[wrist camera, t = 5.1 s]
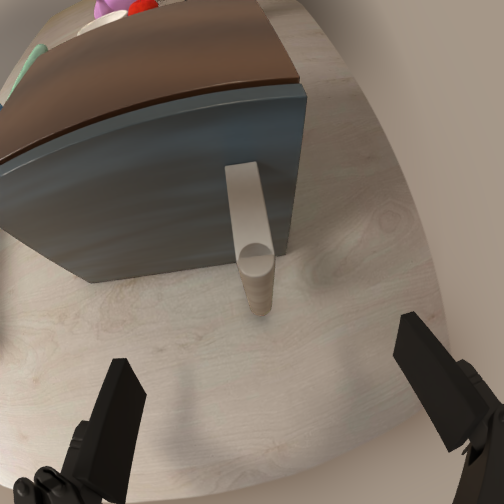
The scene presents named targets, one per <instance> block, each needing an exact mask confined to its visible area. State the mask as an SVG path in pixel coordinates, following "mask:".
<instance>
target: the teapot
mask: <svg viewBox="0 0 504 504" xmlns="http://www.w3.org/2000/svg"><path fill="white" fill-rule="evenodd" d="M135 1H137V0H97V2H96V5H95V9H94V16H95V20H96V19H98V18H100V17H102V16H104V15H106V14H109V13H112V12H115V11H119V10H127V11H128V10H129V7H130V5H131V4H132V3H134V2H135ZM127 16H128V13H127Z"/></svg>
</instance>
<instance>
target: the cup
mask: <svg viewBox="0 0 504 504" xmlns="http://www.w3.org/2000/svg"><path fill="white" fill-rule="evenodd" d="M127 13H128V11H127V10H119V11H115V12H112V13H109V14H106V15H104V16H102V17H100V18H98V19H96V20H94V21H92V22H91V23H89V24H87V25H86V26H85V27H83V28H82V29H81V30H80V31H79V32H78V34H77V36H79V35H81V34H83V33H85V32H88V31H90V30H92V29H95V28H97V27H100V26H102V25H105V24H107V23H110V22H113V21H115V20H118V19H121V18H124V17H127Z"/></svg>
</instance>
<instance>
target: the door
mask: <svg viewBox="0 0 504 504" xmlns="http://www.w3.org/2000/svg"><path fill="white" fill-rule="evenodd" d="M306 103H307V95H306V92H305V90H304V88H303V86H302V84H300V83H299V84H283V85H270V86H260V87H250V88H242V89H235V90H228V91H221V92H215V93H209V94H203V95H198V96H193V97H188V98H183V99H178V100H174V101H170V102H165V103H161V104H157V105H153V106H149V107H146V108H142V109H138V110H135V111H131V112H128V113H125V114H121V115H118V116H115V117H112V118H109V119H106V120H103V121H100V122H97V123H94V124H91V125H88V126H86V127H83V128H80V129H78V130H75V131H73V132H70V133H68V134H65V135H63V136H60V137H58V138H56V139H53V140H51V141H49V142H46V143H44V144H42V145H40V146H38V147H35V148H33V149H31V150H29V151H27V152H25V153H23V154H21V155H19V156H17V157H15V158H13V159H11V160H10V161H8V162H6V163H4V164H2V165H0V228H1V229H3V230H4V231H6V232H7V233H9V234H10V235H12V236H13V237H15V238H16V239H18V240H19V241H21V242H22V243H24V244H25V245H27V246H28V247H30V248H31V249H33V250H35V251H36V252H38V253H39V254H41V255H43V256H44V257H46V258H47V259H49V260H51V261H52V262H54V263H56V264H57V265H59V266H61V267H62V268H64V269H66V270H68V271H69V272H71V273H73V274H75V275H76V276H78V277H80V278H82V279H83V280H85V281H87V282H89V283H97V282H104V281H111V280H118V279H126V278H133V277H140V276H147V275H153V274H160V273H167V272H174V271H181V270H188V269H195V268H201V267H208V266H215V265H222V264H228V263H235V262H237V266H238V270H239V273H240V276H241V280H242V283H243V286H244V289H245V293H246V296H247V299H248V303H249V306H250V309H251V311H252V312H253V313H254V314H255V315H258V316H264V315H266V314H268V313H269V312H270V310H271V307H272V296H273V285H274V272H275V256H281V255H286V249H287V242H288V236H289V230H290V223H291V217H292V210H293V203H294V196H295V189H296V182H297V175H298V168H299V160H300V153H301V145H302V137H303V129H304V121H305V112H306Z"/></svg>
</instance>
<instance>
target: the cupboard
mask: <svg viewBox="0 0 504 504" xmlns="http://www.w3.org/2000/svg"><path fill="white" fill-rule="evenodd" d="M299 81H300V77H299V75H298V73H297V71H296V69H295V67H294V65H293V63H292V61H291V59H290V57H289V55H288V53H287V52H286V50H285V48H284V46H283V44H282V42H281V41H280V39H279V37H278V35H277V34H276V32H275V30H274V28H273V27H272V25H271V23H270V22H269V20H268V18H267V17H266V15H265V13H264V12H263V10H262V9H261V7H260V5H259V4H258V2H257V1H256V0H187V1H182V2H177V3H173V4H169V5H165V6H161V7H157V8H153V9H150V10H146V11H143V12H139V13H136V14H133V15H130V16H127V17H124V18H121V19H118V20H115V21H113V22H110V23H107V24H105V25H102V26H100V27H97V28H95V29H92V30H90V31H88V32H85V33H83V34H81V35H79V36H76V37H74V38H72V39H70V40H68V41H66V42H64V43H62V44H60V45H58V46H56V47H54V48H52V49H51V50H49V51H47V52H45V53H43V54H41V55H40V56H38V57H37V59H36V60H35V61H34V62H33V64H32V65H31V66H30V68H29V69H28V70H27V72H26V73H25V74H24V76H23V77H22V79H21V80H20V82H19V83H18V84H17V86H16V87H15V89H14V90H13V92H12V93H11V95H10V96H9V98H8V100H7V101H6V103H5V104H4V106H3V108H2V109H1V111H0V165H2V164H4V163H6V162H8V161H10V160H11V159H13V158H15V157H17V156H19V155H21V154H23V153H25V152H27V151H29V150H31V149H33V148H35V147H38V146H40V145H42V144H44V143H46V142H49V141H51V140H53V139H56V138H58V137H60V136H63V135H65V134H68V133H70V132H73V131H75V130H78V129H80V128H83V127H86V126H88V125H91V124H94V123H97V122H100V121H103V120H106V119H109V118H112V117H115V116H118V115H121V114H125V113H128V112H131V111H135V110H138V109H142V108H146V107H149V106H153V105H157V104H161V103H165V102H170V101H174V100H178V99H183V98H188V97H193V96H198V95H203V94H209V93H215V92H221V91H228V90H235V89H242V88H250V87H260V86H270V85H283V84H299Z"/></svg>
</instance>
